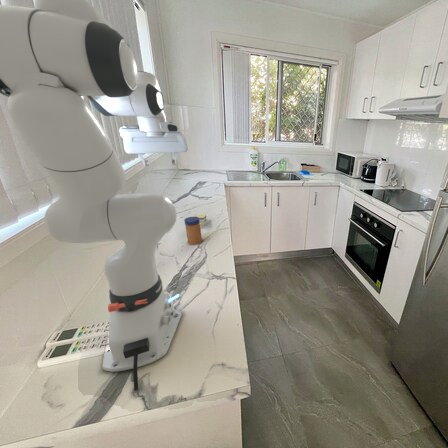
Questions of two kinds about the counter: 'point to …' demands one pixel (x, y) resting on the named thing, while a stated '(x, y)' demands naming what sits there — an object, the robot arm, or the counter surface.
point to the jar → (194, 234)
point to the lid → (192, 220)
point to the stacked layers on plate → (203, 220)
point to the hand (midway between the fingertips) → (160, 165)
